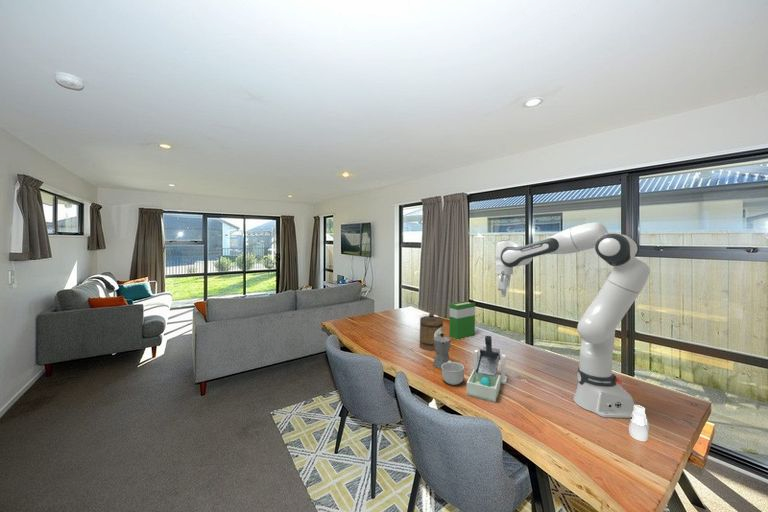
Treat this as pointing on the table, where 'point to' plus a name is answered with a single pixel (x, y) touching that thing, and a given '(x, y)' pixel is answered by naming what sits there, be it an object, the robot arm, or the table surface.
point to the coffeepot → (441, 350)
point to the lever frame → (503, 363)
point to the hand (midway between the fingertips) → (503, 296)
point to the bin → (483, 387)
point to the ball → (485, 381)
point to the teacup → (452, 372)
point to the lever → (488, 359)
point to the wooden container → (430, 331)
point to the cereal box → (462, 319)
